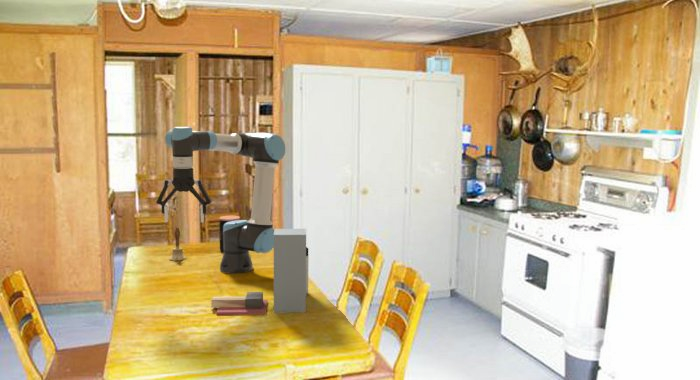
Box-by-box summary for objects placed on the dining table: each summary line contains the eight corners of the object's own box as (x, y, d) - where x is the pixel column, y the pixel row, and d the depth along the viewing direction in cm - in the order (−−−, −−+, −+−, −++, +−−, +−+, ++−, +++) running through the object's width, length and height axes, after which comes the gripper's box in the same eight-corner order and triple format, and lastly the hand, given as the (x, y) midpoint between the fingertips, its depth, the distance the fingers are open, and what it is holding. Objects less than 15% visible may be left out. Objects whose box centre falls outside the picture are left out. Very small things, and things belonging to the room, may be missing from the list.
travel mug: (301, 290, 242) (301, 244, 239) (311, 294, 237) (311, 247, 234) (289, 293, 238) (289, 246, 235) (299, 297, 233) (299, 249, 230)
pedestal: (274, 303, 226) (274, 228, 221) (305, 302, 227) (305, 228, 222) (273, 312, 216) (273, 234, 211) (305, 312, 217) (306, 234, 212)
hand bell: (173, 256, 291) (172, 225, 288) (189, 257, 290) (188, 226, 287) (166, 260, 283) (165, 228, 280) (182, 261, 282) (181, 229, 279)
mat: (221, 302, 225) (221, 300, 225) (267, 302, 227) (267, 299, 227) (216, 314, 213) (216, 312, 212) (265, 314, 214) (265, 311, 214)
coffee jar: (216, 252, 299) (215, 218, 296) (224, 247, 309) (223, 214, 306) (236, 253, 297) (235, 219, 294) (243, 248, 308) (242, 215, 305)
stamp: (213, 302, 223) (213, 292, 222) (263, 301, 225) (262, 291, 224) (210, 309, 215) (210, 299, 214) (261, 309, 217) (261, 298, 216)
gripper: (147, 168, 215) (149, 223, 218) (214, 168, 217) (215, 223, 220) (152, 166, 222) (154, 219, 225) (217, 166, 224) (218, 219, 228)
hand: (184, 221), depth 223 cm, fingers open, 13 cm apart
